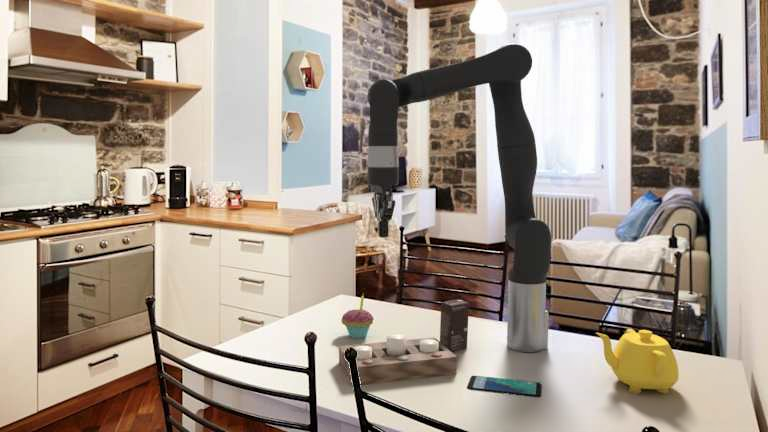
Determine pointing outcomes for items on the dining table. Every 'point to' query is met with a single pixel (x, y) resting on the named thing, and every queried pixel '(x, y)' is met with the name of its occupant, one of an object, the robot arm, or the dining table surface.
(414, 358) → the board
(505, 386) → the smartphone
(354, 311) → the cupcake
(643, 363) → the teapot
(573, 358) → the dining table surface
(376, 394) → the dining table surface
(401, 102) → the robot arm
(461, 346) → the box
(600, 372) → the dining table surface
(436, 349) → the button
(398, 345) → the button
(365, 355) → the button
